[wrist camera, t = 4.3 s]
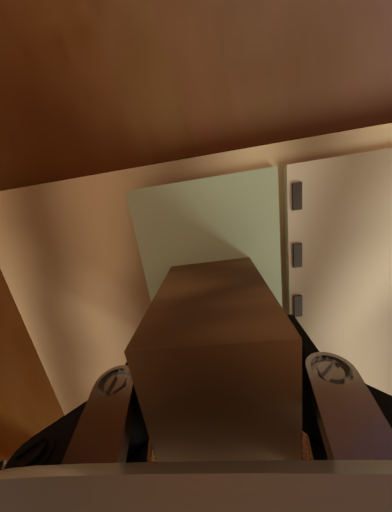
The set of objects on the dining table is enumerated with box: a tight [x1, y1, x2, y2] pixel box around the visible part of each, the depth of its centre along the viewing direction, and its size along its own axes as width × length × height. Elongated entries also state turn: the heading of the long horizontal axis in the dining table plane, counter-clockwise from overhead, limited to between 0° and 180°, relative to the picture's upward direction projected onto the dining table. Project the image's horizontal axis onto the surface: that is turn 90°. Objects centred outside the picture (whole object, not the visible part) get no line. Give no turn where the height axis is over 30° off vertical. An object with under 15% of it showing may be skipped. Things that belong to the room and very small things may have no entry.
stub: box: [124, 166, 302, 462], centre depth 8 cm, size 7×14×6 cm, turn 8°
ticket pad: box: [0, 123, 392, 415], centre depth 11 cm, size 33×16×3 cm, turn 98°
